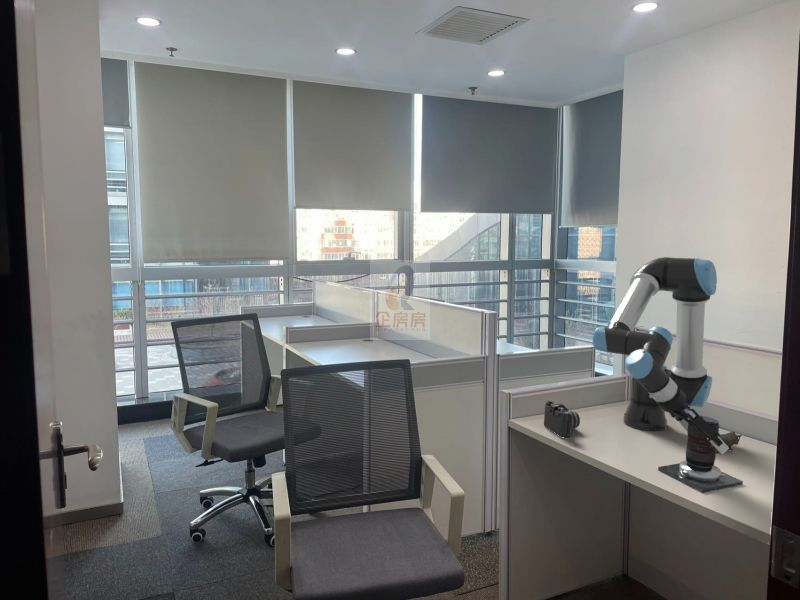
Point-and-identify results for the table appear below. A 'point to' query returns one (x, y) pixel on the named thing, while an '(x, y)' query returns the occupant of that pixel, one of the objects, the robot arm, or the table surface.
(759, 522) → the table surface
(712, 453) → the camera lens
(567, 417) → the camera
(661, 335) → the robot arm
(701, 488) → the mount
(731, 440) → the rhino figurine
